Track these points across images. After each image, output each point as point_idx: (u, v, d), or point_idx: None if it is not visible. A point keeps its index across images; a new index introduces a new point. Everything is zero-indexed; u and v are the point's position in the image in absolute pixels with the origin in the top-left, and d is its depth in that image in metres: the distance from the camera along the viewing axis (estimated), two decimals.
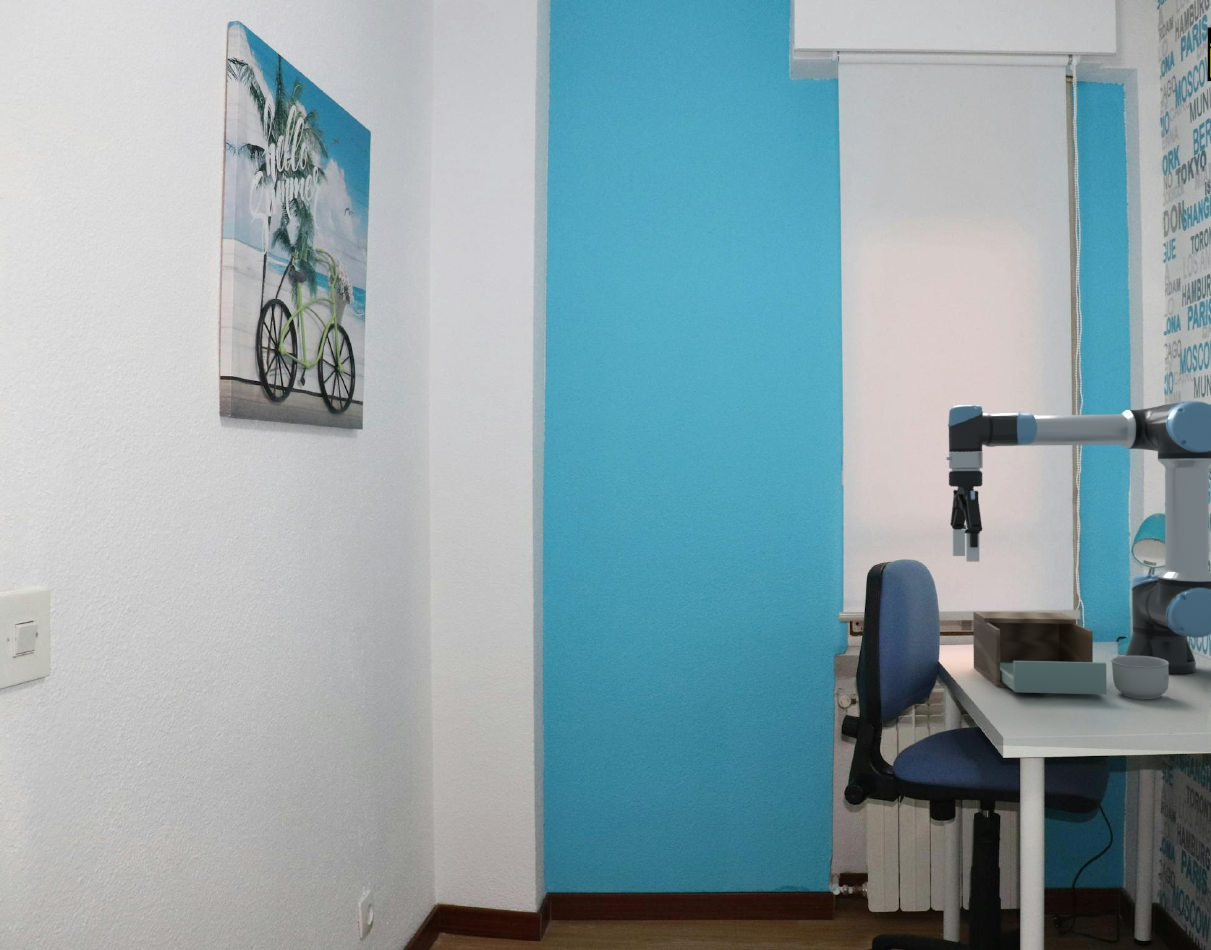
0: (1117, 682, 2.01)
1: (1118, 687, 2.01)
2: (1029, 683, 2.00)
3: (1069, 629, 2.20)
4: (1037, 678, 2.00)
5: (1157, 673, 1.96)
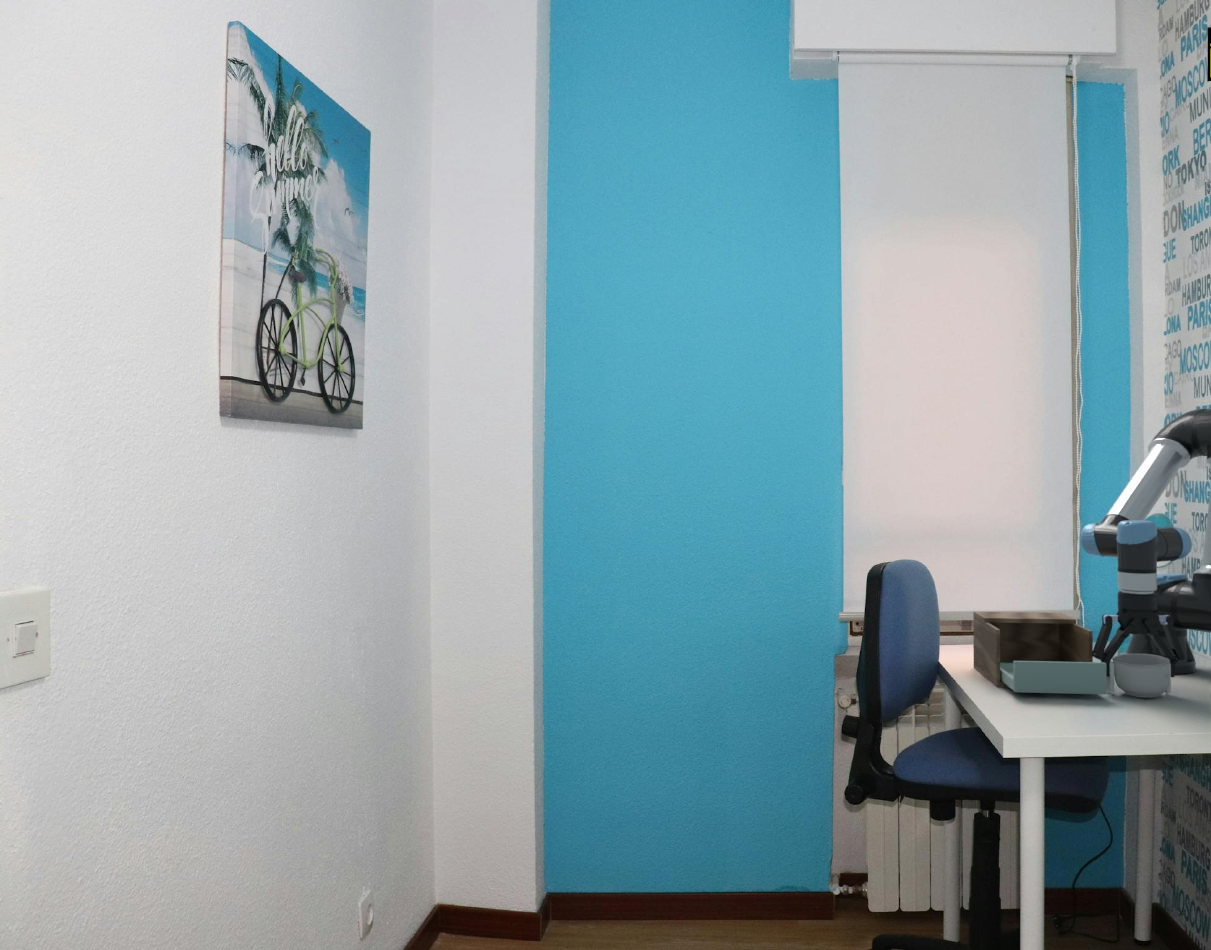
0: (1119, 680, 2.01)
1: (1119, 685, 2.02)
2: (1029, 683, 2.00)
3: (1069, 629, 2.20)
4: (1037, 678, 2.00)
5: (1158, 671, 1.97)
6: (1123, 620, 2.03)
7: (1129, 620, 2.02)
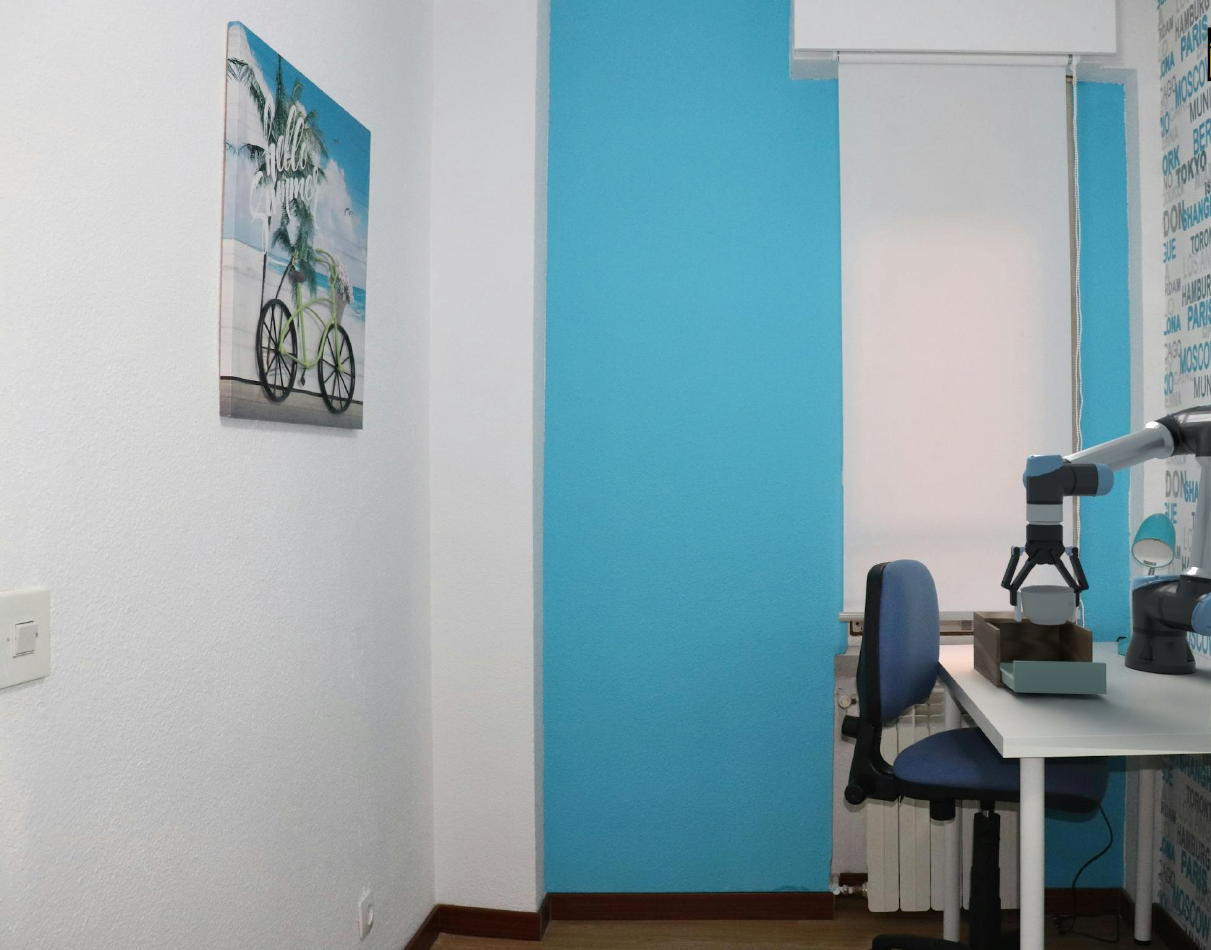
0: (1025, 609, 2.07)
1: (1026, 614, 2.07)
2: (1029, 683, 2.00)
3: (1069, 629, 2.20)
4: (1037, 678, 2.00)
5: (1061, 598, 2.02)
6: (1030, 551, 2.08)
7: (1036, 551, 2.08)
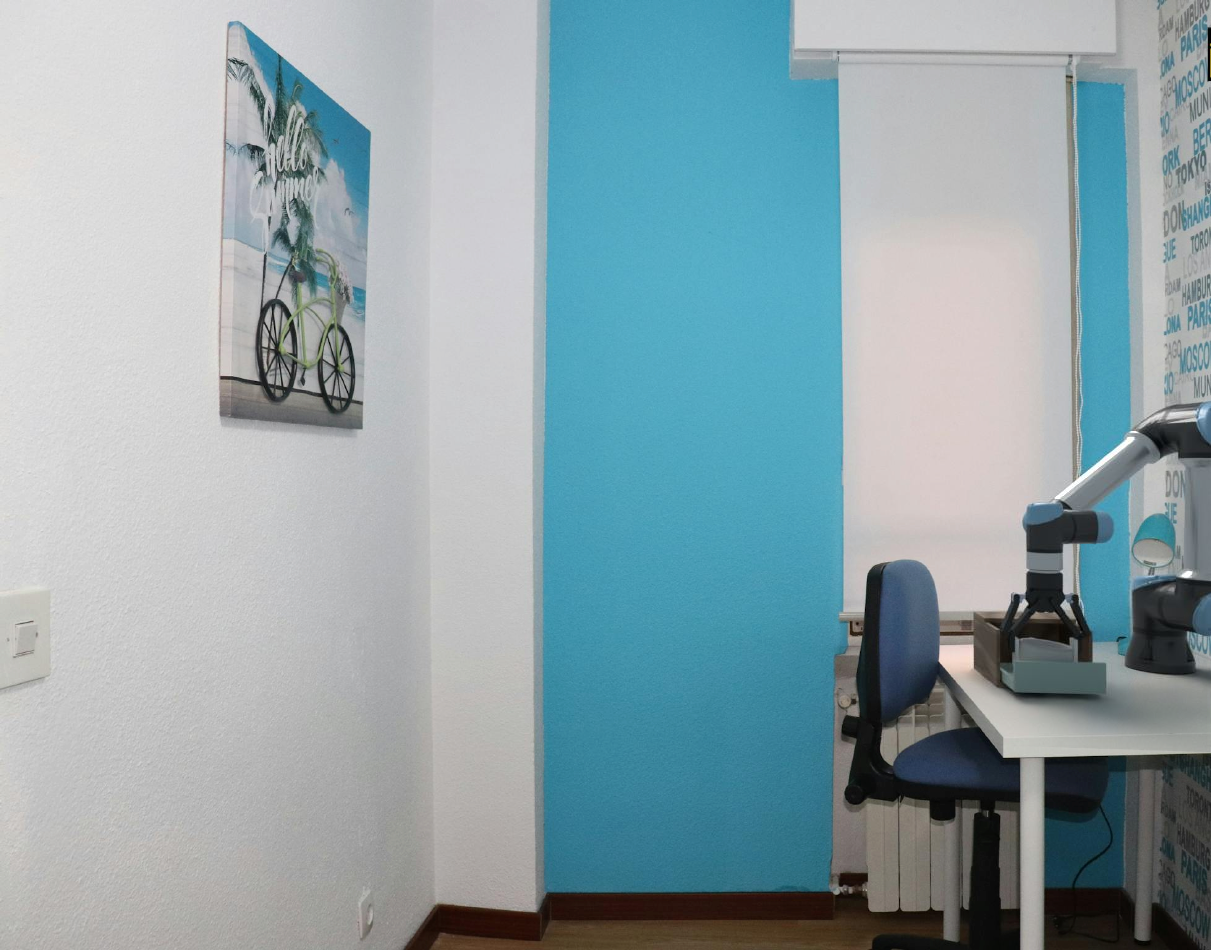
0: (1022, 660, 2.07)
1: None
2: (1029, 683, 2.00)
3: None
4: (1037, 678, 2.00)
5: (1060, 656, 2.03)
6: (1030, 599, 2.08)
7: (1036, 599, 2.08)
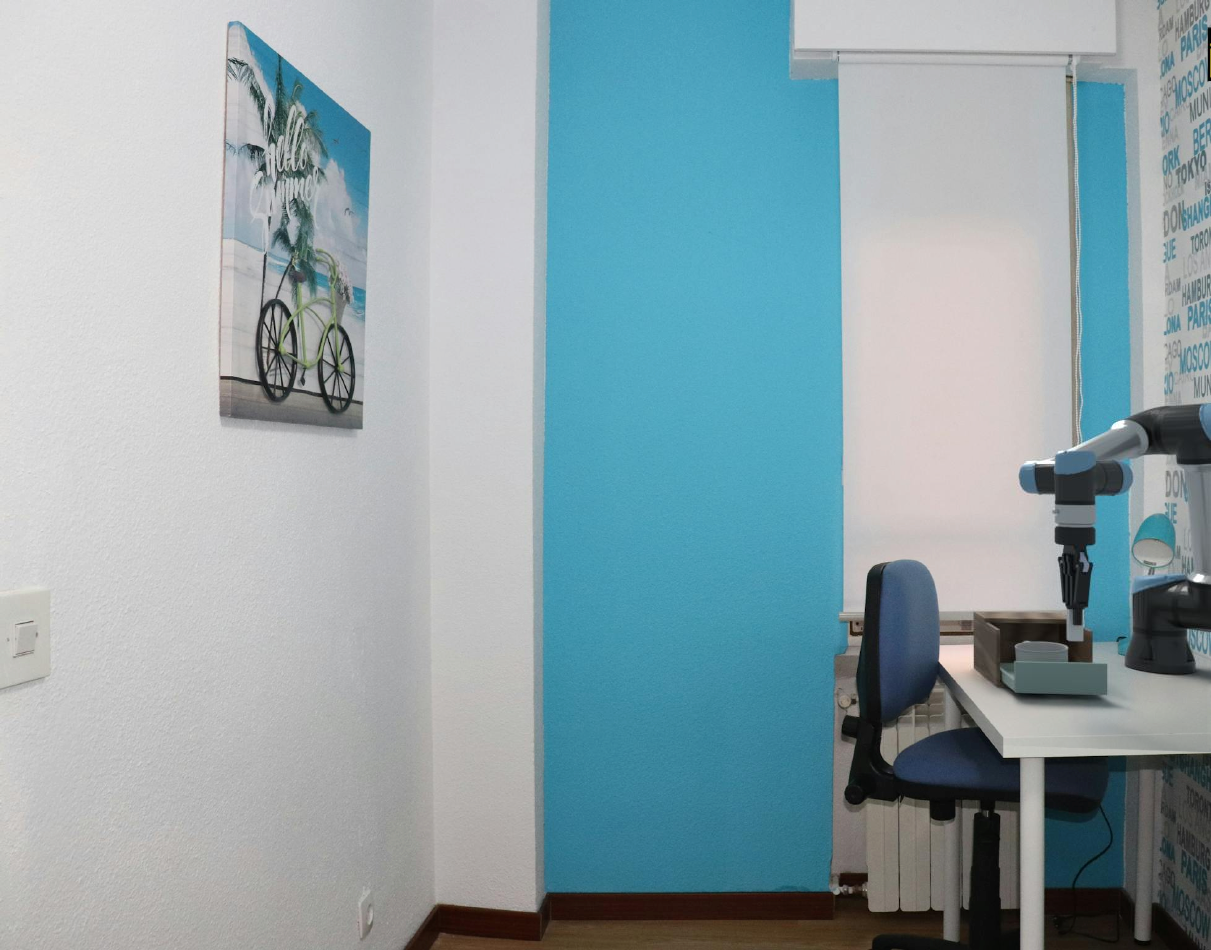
0: None
1: None
2: (1030, 683, 2.00)
3: None
4: (1038, 679, 1.99)
5: (1056, 658, 2.02)
6: None
7: None
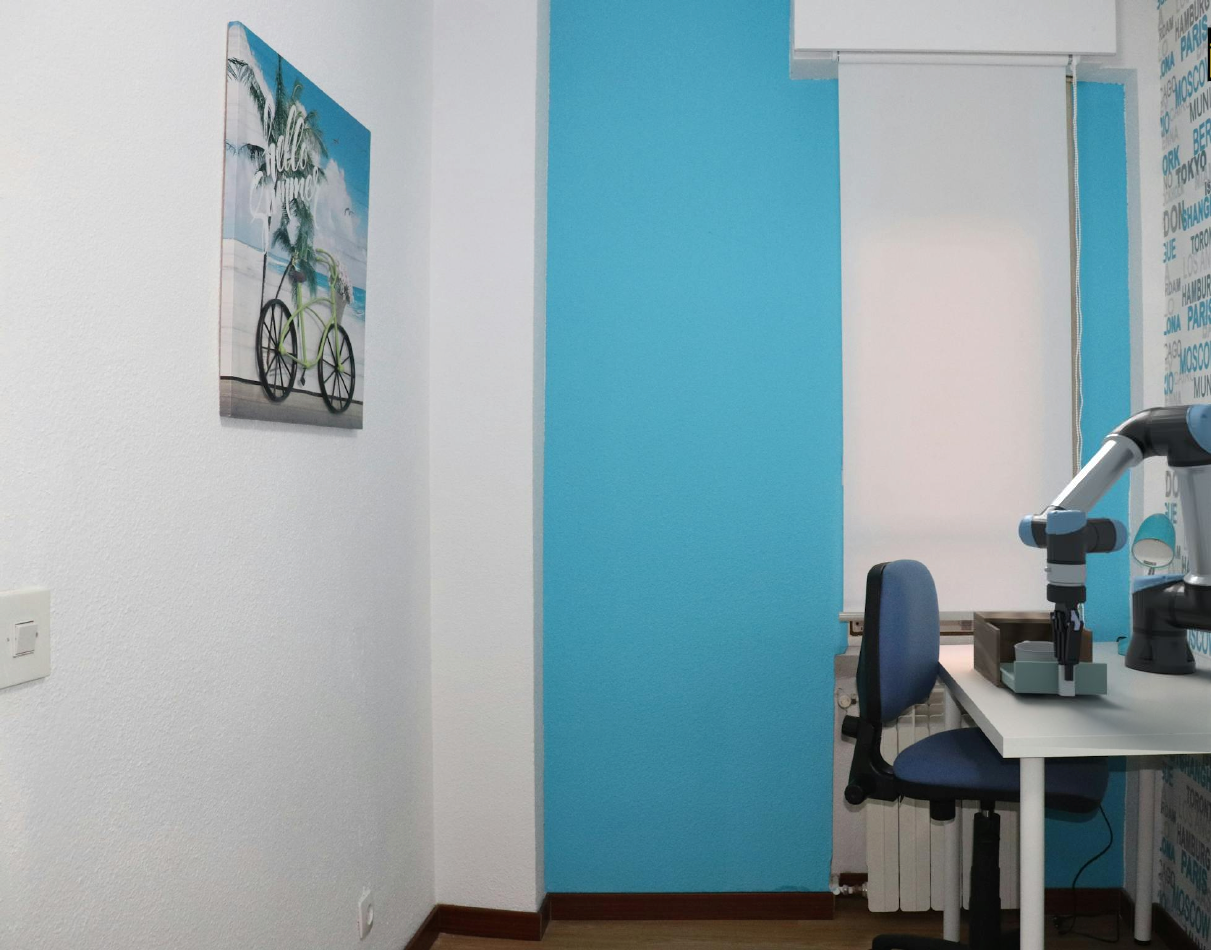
0: None
1: None
2: (1030, 683, 2.00)
3: None
4: (1038, 678, 2.00)
5: (1056, 658, 2.02)
6: None
7: None
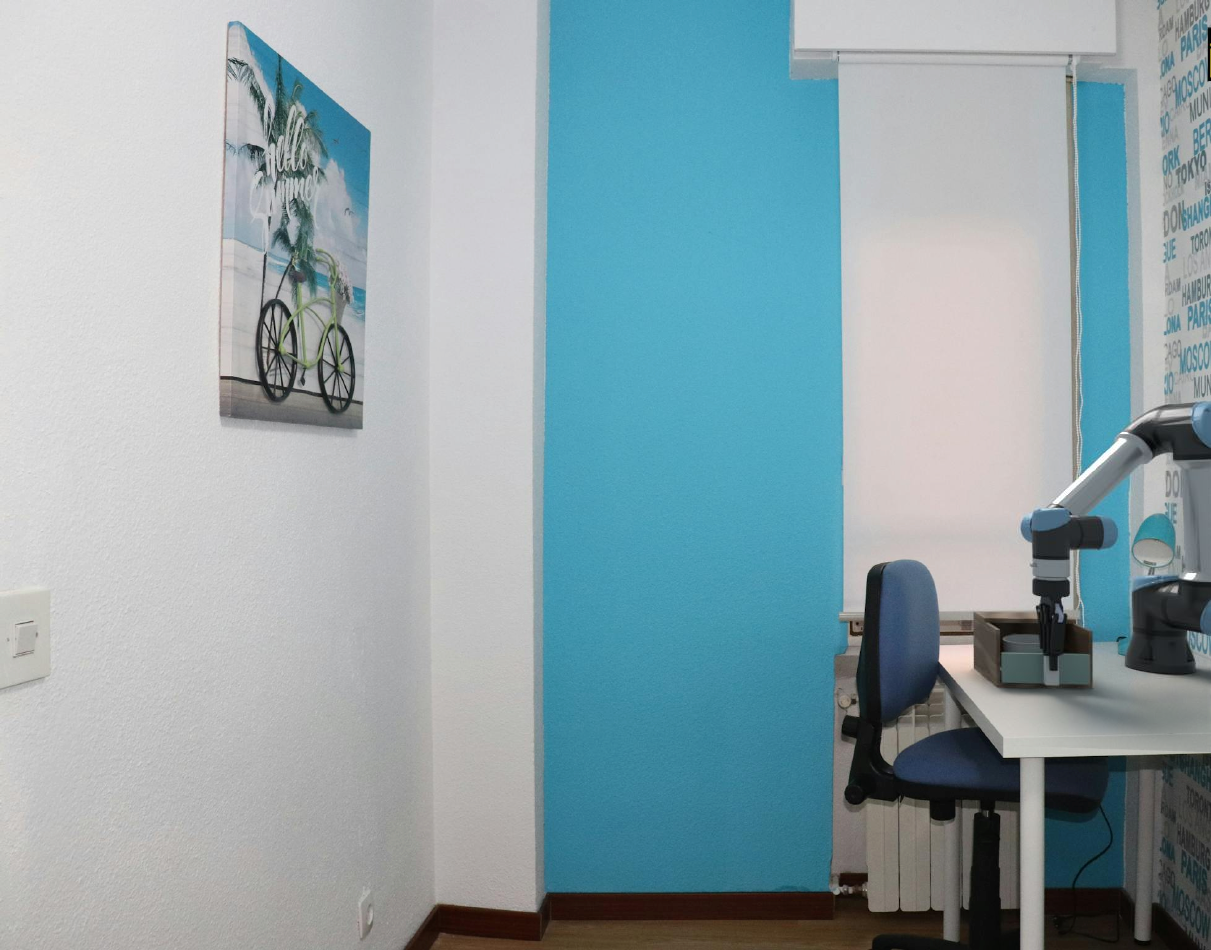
0: None
1: None
2: (1017, 674, 2.09)
3: (1069, 629, 2.20)
4: (1024, 669, 2.09)
5: (1041, 649, 2.12)
6: None
7: None
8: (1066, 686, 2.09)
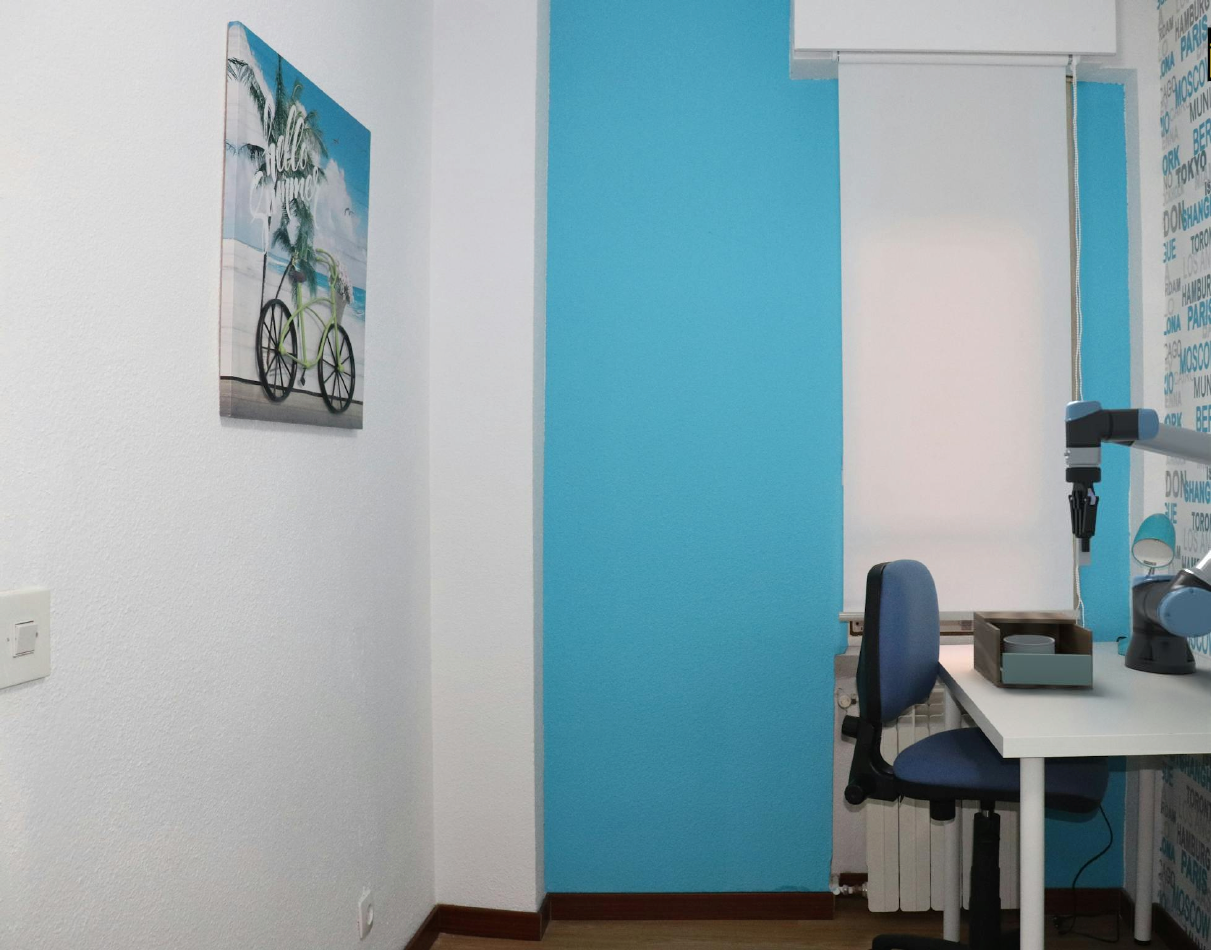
0: None
1: None
2: (1018, 674, 2.08)
3: (1069, 629, 2.20)
4: (1025, 670, 2.08)
5: (1043, 650, 2.11)
6: None
7: None
8: (1066, 686, 2.09)
